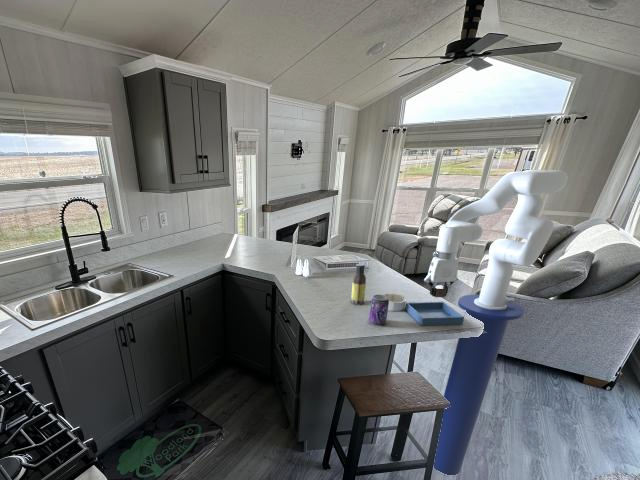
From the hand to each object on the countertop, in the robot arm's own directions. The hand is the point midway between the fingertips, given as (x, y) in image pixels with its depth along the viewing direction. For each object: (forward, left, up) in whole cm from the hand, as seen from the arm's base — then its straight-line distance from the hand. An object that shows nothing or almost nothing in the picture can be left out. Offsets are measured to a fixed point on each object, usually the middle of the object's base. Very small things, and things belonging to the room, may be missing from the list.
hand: (437, 294), depth 143 cm
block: (0, 0, 0) cm, 0 cm away
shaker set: (+49, -60, -11) cm, 78 cm away
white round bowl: (+14, -12, -11) cm, 21 cm away
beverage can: (+27, +4, -11) cm, 29 cm away
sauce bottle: (+29, -18, -11) cm, 35 cm away
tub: (+1, 0, -11) cm, 11 cm away
